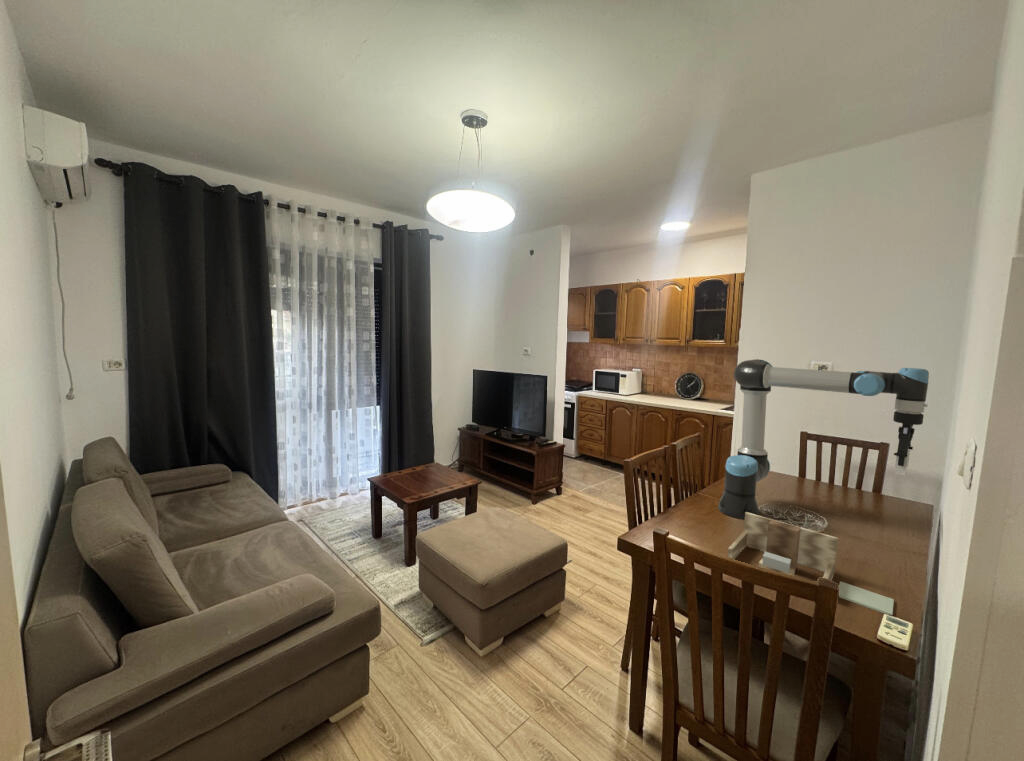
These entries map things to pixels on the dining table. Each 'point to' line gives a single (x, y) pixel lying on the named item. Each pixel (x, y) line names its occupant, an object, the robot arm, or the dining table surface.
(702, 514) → the dining table surface
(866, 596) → the mat
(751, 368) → the robot arm
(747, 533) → the zigzag patterned toy table
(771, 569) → the offcut bottom
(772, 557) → the offcut top
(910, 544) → the dining table surface
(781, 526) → the cardboard parcel
